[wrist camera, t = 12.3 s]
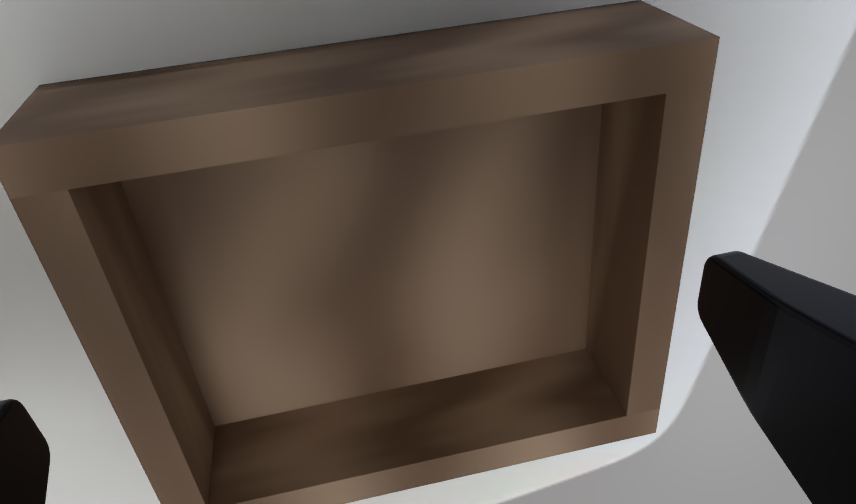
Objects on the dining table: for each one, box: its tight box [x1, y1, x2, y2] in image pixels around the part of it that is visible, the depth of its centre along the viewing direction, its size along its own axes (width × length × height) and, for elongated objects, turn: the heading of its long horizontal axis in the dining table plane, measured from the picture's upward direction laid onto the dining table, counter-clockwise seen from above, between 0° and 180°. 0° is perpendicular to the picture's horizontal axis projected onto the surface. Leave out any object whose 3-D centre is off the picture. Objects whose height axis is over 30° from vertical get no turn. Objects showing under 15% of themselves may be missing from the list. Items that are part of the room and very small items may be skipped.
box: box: [0, 0, 720, 504], centre depth 20 cm, size 16×14×4 cm
